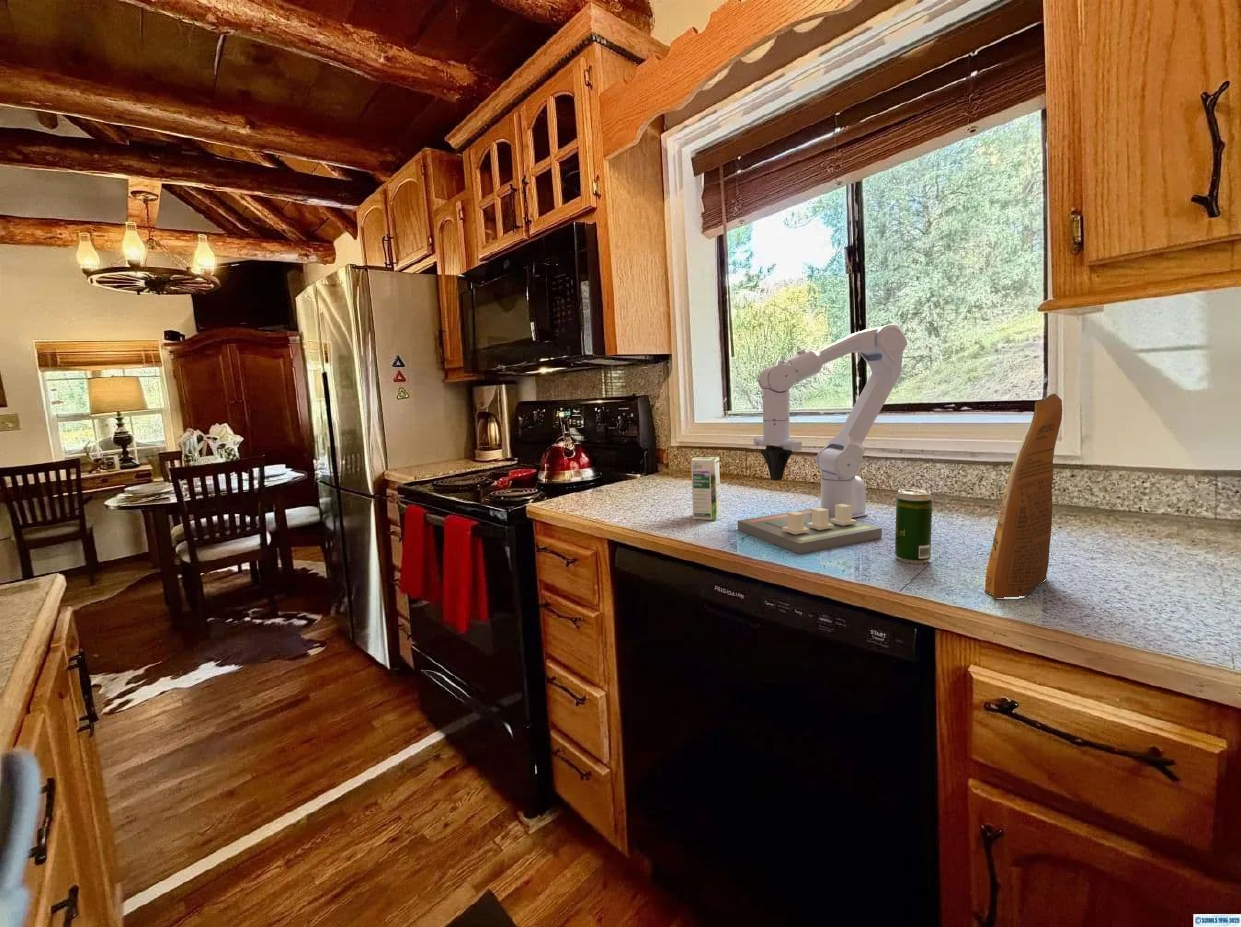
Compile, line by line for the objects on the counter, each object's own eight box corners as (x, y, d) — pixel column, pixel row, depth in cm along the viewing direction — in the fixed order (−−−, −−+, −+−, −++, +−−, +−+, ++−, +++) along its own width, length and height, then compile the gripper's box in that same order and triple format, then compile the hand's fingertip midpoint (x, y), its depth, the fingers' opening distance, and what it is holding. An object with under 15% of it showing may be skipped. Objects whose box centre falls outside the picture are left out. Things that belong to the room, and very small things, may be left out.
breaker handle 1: (796, 527, 108) (796, 510, 107) (809, 531, 105) (809, 513, 104) (782, 530, 107) (782, 512, 106) (794, 534, 103) (794, 516, 103)
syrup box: (692, 519, 128) (690, 459, 126) (698, 514, 133) (696, 455, 131) (716, 520, 126) (714, 459, 124) (721, 514, 131) (719, 455, 129)
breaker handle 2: (843, 519, 112) (843, 502, 112) (856, 523, 109) (856, 505, 108) (829, 521, 111) (829, 504, 110) (842, 525, 108) (843, 508, 107)
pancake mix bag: (1069, 576, 82) (1082, 392, 78) (1027, 612, 71) (1040, 399, 67) (1017, 565, 88) (1026, 392, 84) (970, 598, 76) (979, 399, 72)
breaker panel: (810, 517, 125) (810, 508, 124) (881, 537, 106) (881, 527, 106) (737, 529, 117) (737, 520, 117) (800, 553, 99) (799, 543, 99)
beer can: (937, 561, 92) (939, 492, 90) (916, 567, 89) (918, 496, 88) (908, 553, 96) (910, 487, 95) (888, 558, 94) (889, 491, 92)
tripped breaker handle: (820, 523, 110) (820, 506, 109) (833, 527, 107) (833, 509, 106) (806, 526, 109) (806, 508, 108) (819, 530, 105) (819, 512, 105)
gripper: (742, 419, 126) (743, 477, 127) (782, 422, 112) (783, 486, 114) (767, 417, 128) (767, 474, 130) (809, 420, 115) (809, 482, 117)
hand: (776, 479), depth 122 cm, fingers closed
